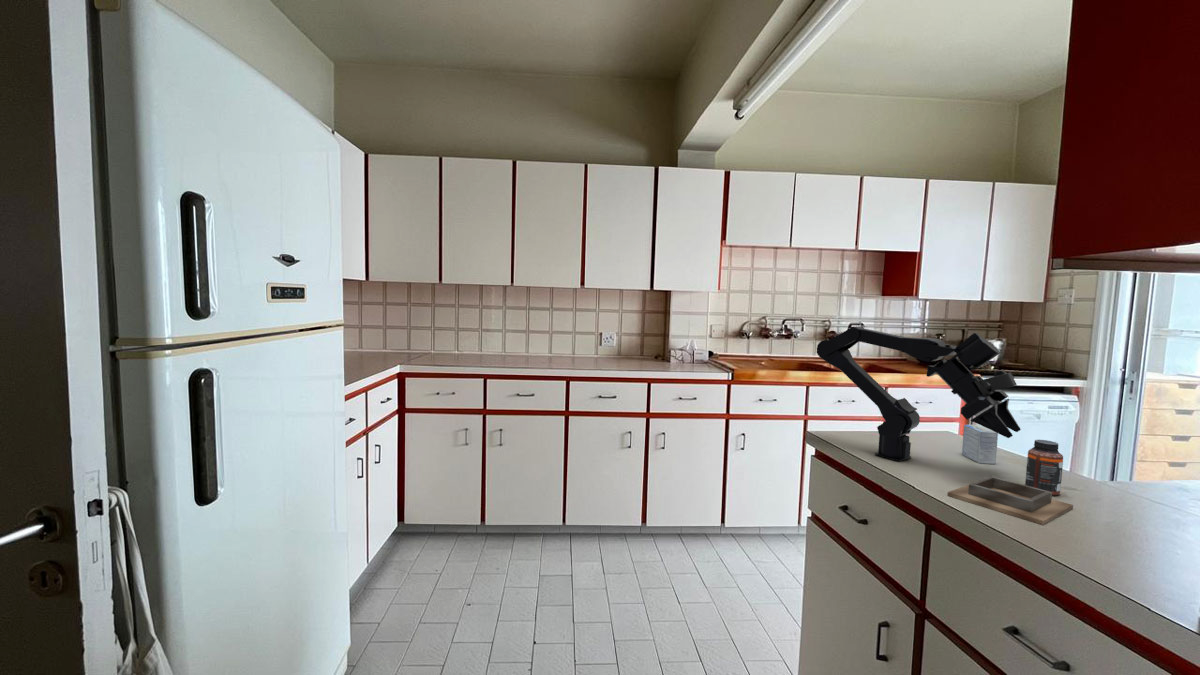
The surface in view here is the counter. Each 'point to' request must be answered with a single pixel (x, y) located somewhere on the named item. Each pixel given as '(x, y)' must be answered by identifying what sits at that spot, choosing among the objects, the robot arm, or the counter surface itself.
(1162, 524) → the counter surface
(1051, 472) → the supplement bottle
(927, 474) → the counter surface
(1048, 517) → the socket board
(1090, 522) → the counter surface
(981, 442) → the medicine box
